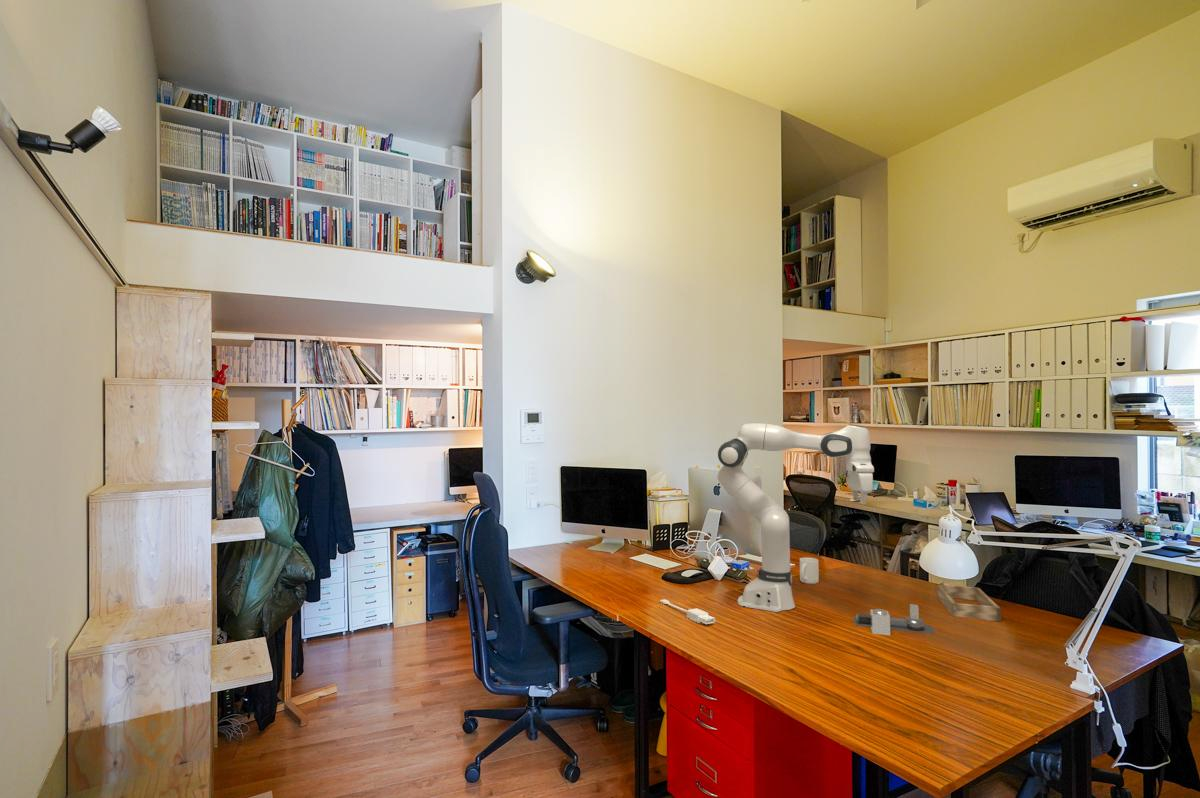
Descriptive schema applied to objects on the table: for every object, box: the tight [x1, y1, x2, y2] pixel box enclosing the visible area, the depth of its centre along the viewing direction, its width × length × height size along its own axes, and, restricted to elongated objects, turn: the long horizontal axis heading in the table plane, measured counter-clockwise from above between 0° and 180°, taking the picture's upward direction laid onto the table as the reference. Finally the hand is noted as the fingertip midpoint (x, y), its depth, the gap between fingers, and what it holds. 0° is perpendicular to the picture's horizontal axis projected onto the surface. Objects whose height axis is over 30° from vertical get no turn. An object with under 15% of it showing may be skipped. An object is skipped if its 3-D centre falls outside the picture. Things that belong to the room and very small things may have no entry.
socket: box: [869, 608, 891, 636], centre depth 201 cm, size 6×6×8 cm
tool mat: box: [852, 617, 937, 635], centre depth 207 cm, size 26×9×1 cm, turn 70°
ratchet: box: [855, 603, 925, 631], centre depth 207 cm, size 22×6×8 cm, turn 70°
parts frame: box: [936, 583, 1002, 623], centre depth 228 cm, size 15×28×5 cm, turn 160°
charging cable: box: [659, 599, 716, 625], centre depth 222 cm, size 5×32×3 cm, turn 28°
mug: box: [799, 557, 820, 585], centre depth 265 cm, size 12×8×10 cm
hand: (859, 502), depth 220 cm, fingers open, 8 cm apart
